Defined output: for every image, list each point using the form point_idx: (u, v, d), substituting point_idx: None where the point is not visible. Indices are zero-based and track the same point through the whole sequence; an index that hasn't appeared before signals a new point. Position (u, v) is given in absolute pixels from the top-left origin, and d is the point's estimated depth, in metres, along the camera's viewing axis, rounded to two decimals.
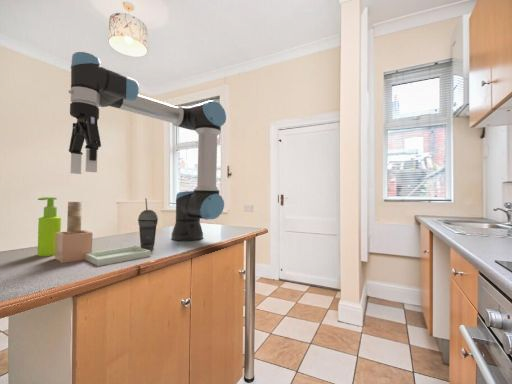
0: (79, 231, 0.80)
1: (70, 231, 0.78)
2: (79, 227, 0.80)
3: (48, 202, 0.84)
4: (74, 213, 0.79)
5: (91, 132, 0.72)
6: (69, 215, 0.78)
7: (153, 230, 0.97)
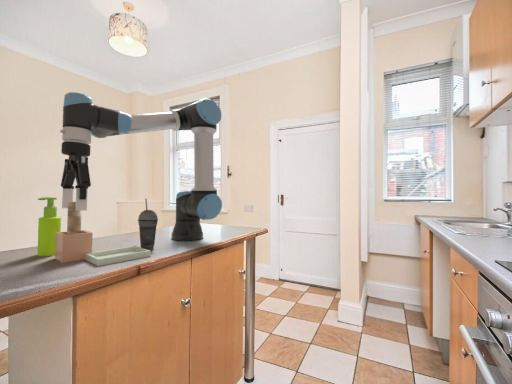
0: (79, 231, 0.80)
1: (70, 231, 0.78)
2: (79, 227, 0.80)
3: (48, 202, 0.84)
4: (74, 213, 0.79)
5: (81, 172, 0.74)
6: (69, 215, 0.78)
7: (153, 230, 0.97)
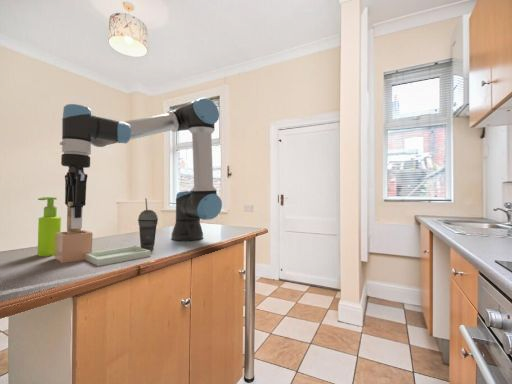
0: (79, 231, 0.80)
1: (70, 231, 0.78)
2: None
3: (48, 202, 0.84)
4: None
5: (78, 192, 0.76)
6: (69, 215, 0.78)
7: (153, 230, 0.97)
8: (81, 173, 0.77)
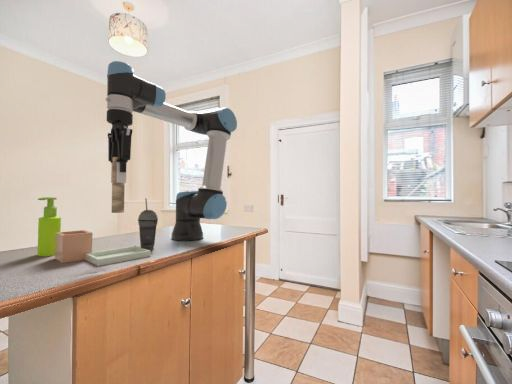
0: (123, 186, 0.82)
1: (115, 185, 0.81)
2: None
3: (48, 202, 0.84)
4: None
5: (124, 146, 0.78)
6: (114, 169, 0.81)
7: (153, 230, 0.97)
8: (126, 128, 0.79)
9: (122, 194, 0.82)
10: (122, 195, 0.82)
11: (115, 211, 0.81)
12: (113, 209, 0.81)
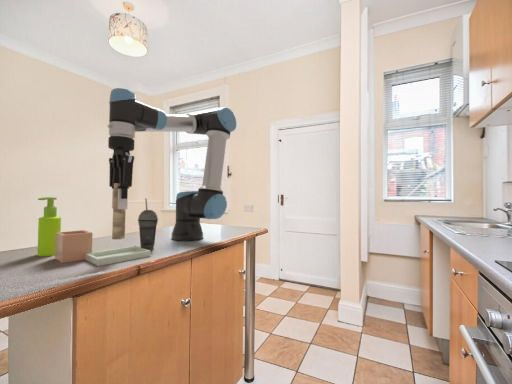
0: (124, 212, 0.82)
1: (116, 212, 0.80)
2: None
3: (48, 202, 0.84)
4: None
5: (126, 173, 0.78)
6: (115, 196, 0.80)
7: (153, 230, 0.97)
8: (128, 155, 0.79)
9: (123, 220, 0.82)
10: (123, 221, 0.82)
11: (116, 238, 0.80)
12: (114, 236, 0.80)
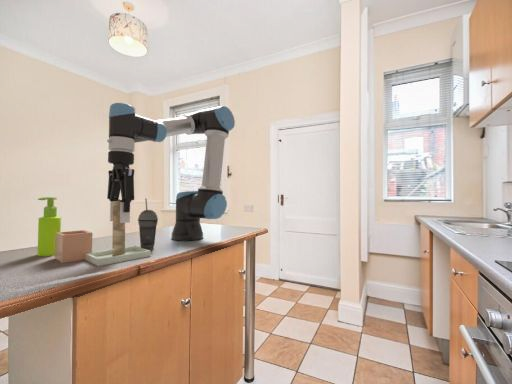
0: (124, 230, 0.82)
1: (115, 230, 0.80)
2: (124, 226, 0.82)
3: (48, 202, 0.84)
4: None
5: (127, 186, 0.78)
6: (115, 214, 0.80)
7: (153, 230, 0.97)
8: (128, 168, 0.79)
9: (123, 238, 0.82)
10: (123, 239, 0.82)
11: None
12: (114, 254, 0.80)
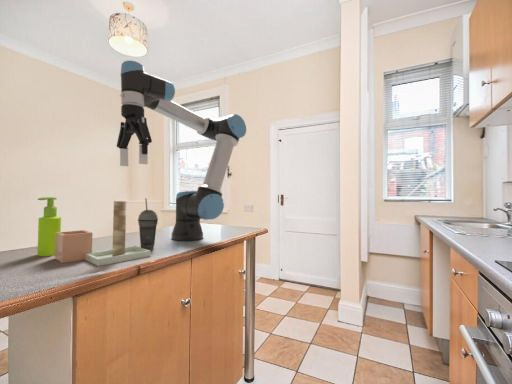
0: (124, 230, 0.82)
1: (116, 230, 0.80)
2: (124, 226, 0.82)
3: (48, 202, 0.84)
4: (120, 212, 0.81)
5: (143, 130, 0.86)
6: (115, 214, 0.81)
7: (153, 230, 0.97)
8: None
9: (123, 238, 0.82)
10: (123, 239, 0.82)
11: None
12: (114, 254, 0.80)
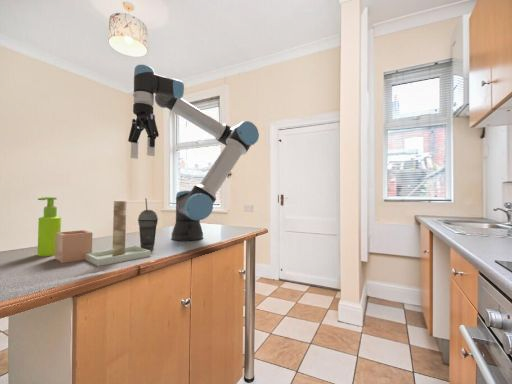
0: (124, 230, 0.82)
1: (116, 230, 0.80)
2: (124, 226, 0.82)
3: (48, 202, 0.84)
4: (120, 212, 0.81)
5: (151, 125, 0.96)
6: (115, 214, 0.81)
7: (153, 230, 0.97)
8: None
9: (123, 238, 0.82)
10: (123, 239, 0.82)
11: None
12: (114, 254, 0.80)
